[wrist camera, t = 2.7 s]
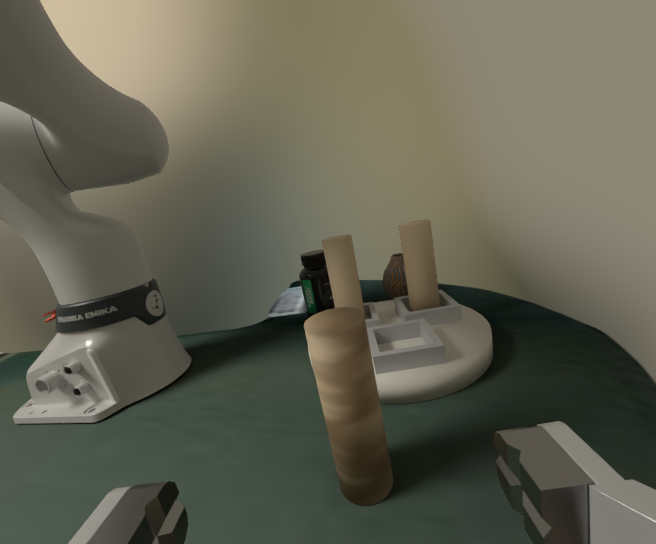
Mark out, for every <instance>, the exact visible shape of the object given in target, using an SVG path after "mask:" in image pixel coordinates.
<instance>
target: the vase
mask: <svg viewBox="0 0 656 544" xmlns="http://www.w3.org/2000/svg"><path fill="white" fill-rule="evenodd" d="M383 286H384V290H385V292H386V294H387V296H388V297H389V298H390V299H391V300H394V298H396V297H402V296H408V288H407V281H406V274H405V267H404V259H403V253H399V254H394V255H392V256H391V260H390V262H389V264H388V266H387V268H386V269H385V271H384V275H383Z"/></svg>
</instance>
